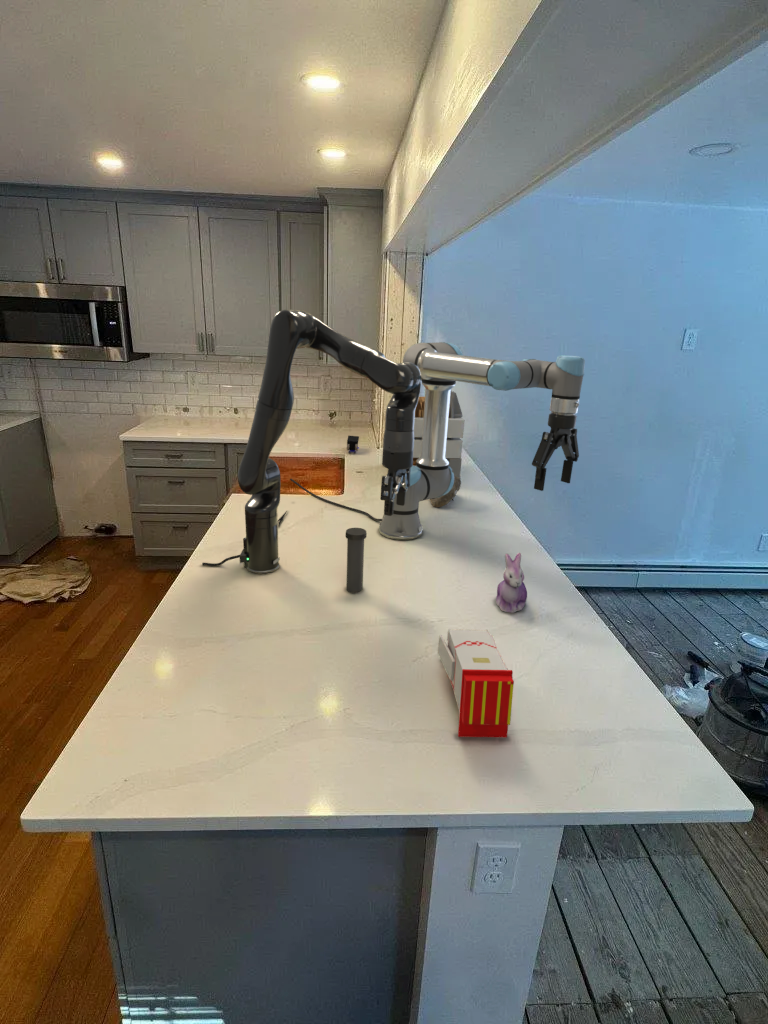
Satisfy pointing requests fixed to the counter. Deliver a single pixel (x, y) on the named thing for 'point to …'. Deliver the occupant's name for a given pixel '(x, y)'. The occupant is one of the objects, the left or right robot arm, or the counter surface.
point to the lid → (356, 534)
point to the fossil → (449, 496)
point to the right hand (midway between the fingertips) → (552, 485)
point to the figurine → (512, 586)
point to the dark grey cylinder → (355, 566)
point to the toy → (478, 682)
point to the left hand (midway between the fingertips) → (394, 509)
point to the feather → (281, 518)
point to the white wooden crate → (453, 433)
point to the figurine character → (352, 443)
